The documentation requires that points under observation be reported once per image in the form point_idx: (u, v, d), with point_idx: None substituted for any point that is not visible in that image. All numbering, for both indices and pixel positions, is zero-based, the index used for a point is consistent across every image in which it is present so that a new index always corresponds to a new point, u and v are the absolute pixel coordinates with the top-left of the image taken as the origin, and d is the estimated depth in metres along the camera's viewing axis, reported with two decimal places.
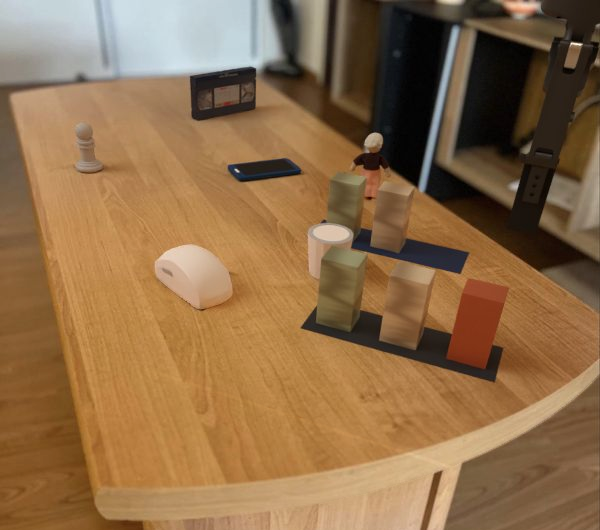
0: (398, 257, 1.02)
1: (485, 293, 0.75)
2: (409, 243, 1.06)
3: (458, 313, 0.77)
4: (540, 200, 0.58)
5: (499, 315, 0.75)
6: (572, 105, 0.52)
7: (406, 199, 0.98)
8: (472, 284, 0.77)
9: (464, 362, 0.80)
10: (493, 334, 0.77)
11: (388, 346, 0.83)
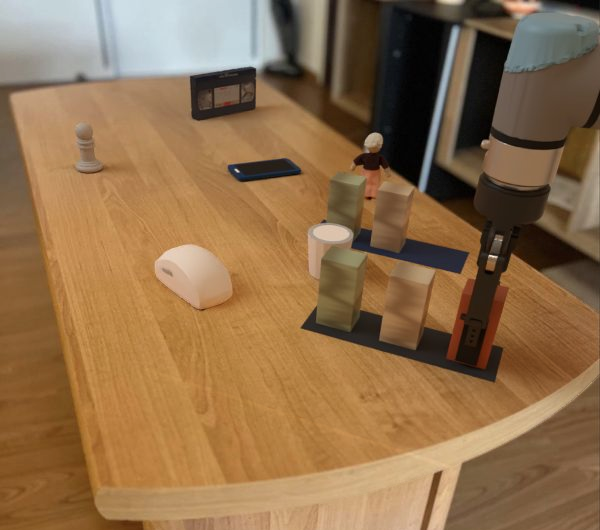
0: (398, 257, 1.02)
1: None
2: (409, 243, 1.06)
3: (458, 313, 0.77)
4: (478, 343, 0.77)
5: (499, 315, 0.75)
6: (493, 294, 0.69)
7: (406, 199, 0.98)
8: (472, 284, 0.77)
9: None
10: (493, 334, 0.77)
11: (388, 346, 0.83)
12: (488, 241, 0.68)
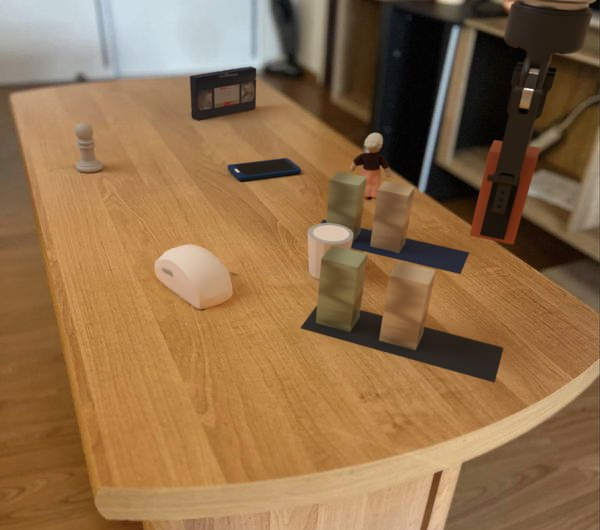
0: (398, 257, 1.02)
1: None
2: (409, 243, 1.06)
3: (484, 177, 0.69)
4: (507, 211, 0.69)
5: (531, 175, 0.67)
6: (527, 139, 0.62)
7: (406, 199, 0.98)
8: (500, 145, 0.69)
9: (490, 238, 0.73)
10: (523, 199, 0.69)
11: (388, 346, 0.83)
12: (522, 76, 0.61)
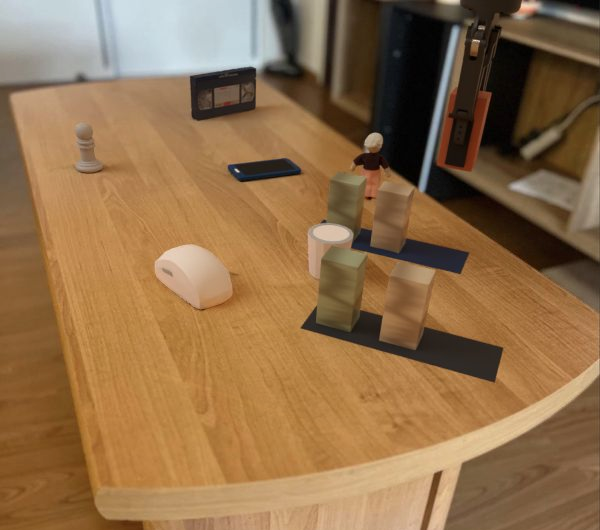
0: (398, 257, 1.02)
1: None
2: (409, 243, 1.06)
3: (447, 115, 0.87)
4: (465, 143, 0.87)
5: (483, 112, 0.85)
6: (477, 81, 0.80)
7: (406, 199, 0.98)
8: None
9: (452, 166, 0.90)
10: (478, 133, 0.87)
11: (388, 346, 0.83)
12: (472, 31, 0.78)
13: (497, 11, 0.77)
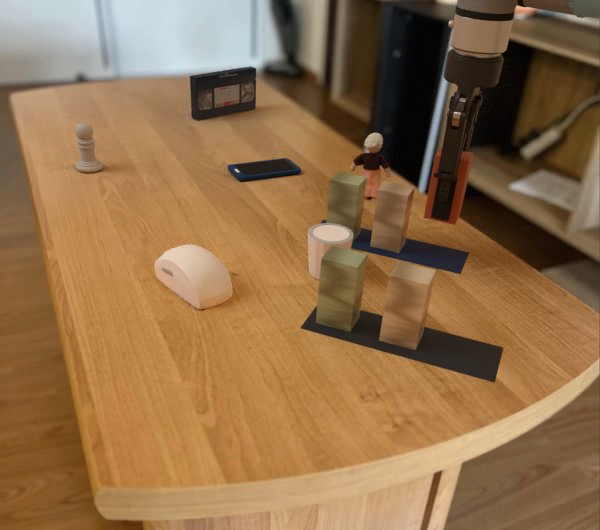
0: (398, 257, 1.02)
1: None
2: (409, 243, 1.06)
3: (432, 174, 0.94)
4: (449, 199, 0.95)
5: (465, 173, 0.92)
6: (458, 148, 0.87)
7: (406, 199, 0.98)
8: None
9: (438, 219, 0.98)
10: (461, 191, 0.94)
11: (388, 346, 0.83)
12: (454, 103, 0.86)
13: (476, 86, 0.84)
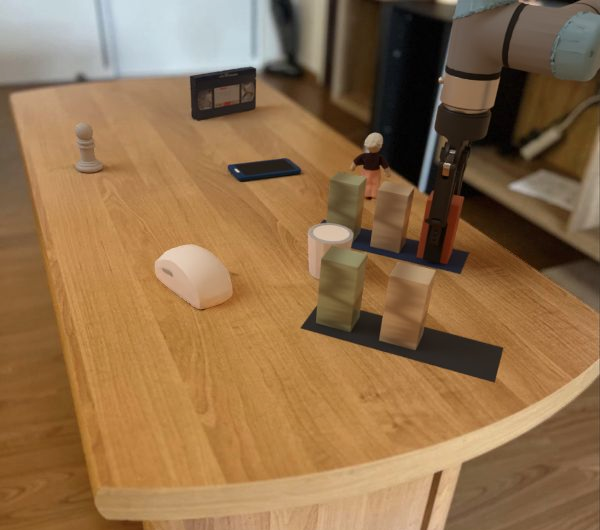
0: (398, 257, 1.02)
1: None
2: (409, 243, 1.06)
3: (424, 217, 0.98)
4: (440, 243, 0.98)
5: (455, 216, 0.96)
6: (448, 196, 0.91)
7: (406, 199, 0.98)
8: None
9: None
10: (452, 233, 0.98)
11: (388, 346, 0.83)
12: (444, 155, 0.90)
13: (465, 139, 0.88)
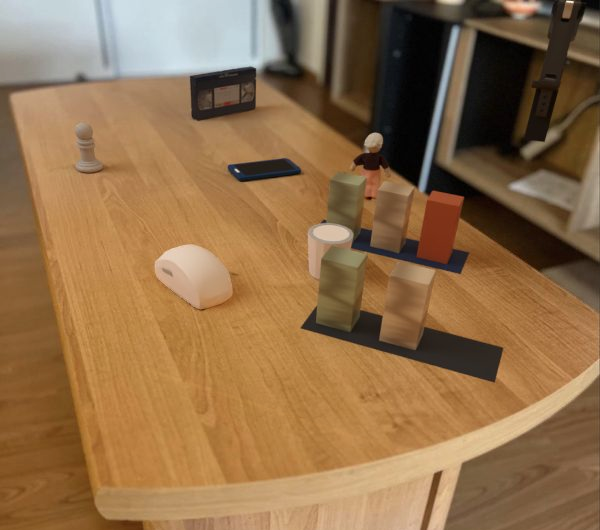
0: (398, 257, 1.02)
1: (444, 200, 0.97)
2: (409, 243, 1.06)
3: (424, 217, 0.98)
4: (547, 115, 0.82)
5: (455, 216, 0.96)
6: (568, 43, 0.76)
7: (406, 199, 0.98)
8: (435, 194, 0.98)
9: (430, 259, 1.02)
10: (452, 233, 0.98)
11: (388, 346, 0.83)
12: None
13: None
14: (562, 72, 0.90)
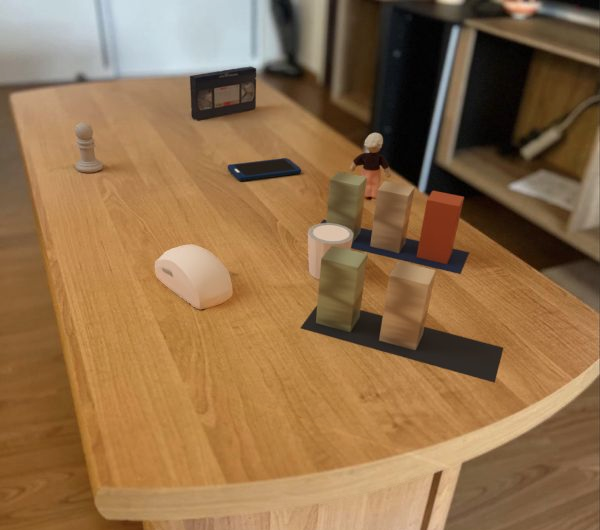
0: (398, 257, 1.02)
1: (444, 200, 0.97)
2: (409, 243, 1.06)
3: (424, 217, 0.98)
4: None
5: (455, 216, 0.96)
6: None
7: (406, 199, 0.98)
8: (435, 194, 0.98)
9: (430, 259, 1.02)
10: (452, 233, 0.98)
11: (388, 346, 0.83)
12: None
13: None
14: None
